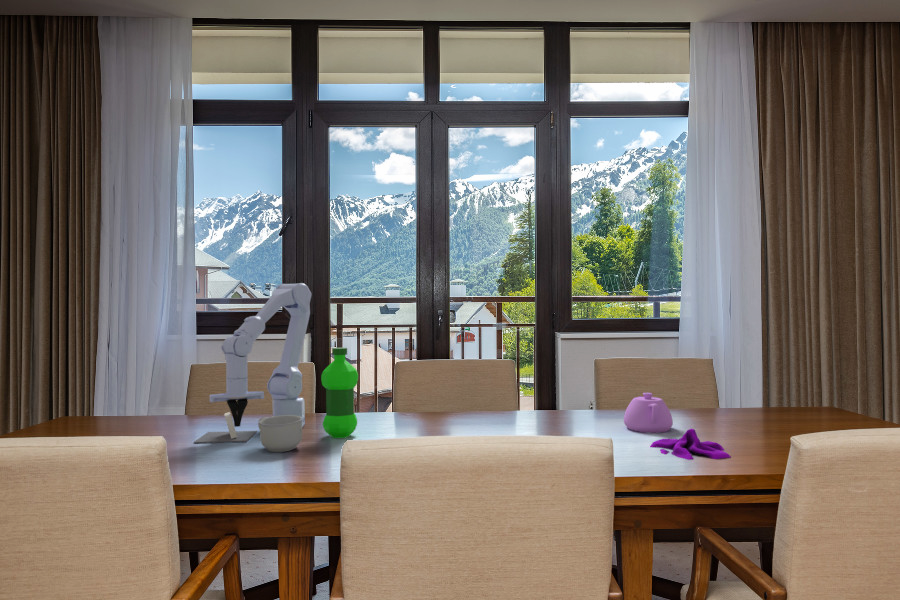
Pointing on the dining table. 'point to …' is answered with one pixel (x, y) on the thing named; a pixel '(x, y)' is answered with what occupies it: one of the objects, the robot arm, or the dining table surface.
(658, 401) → the teapot
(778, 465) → the dining table surface
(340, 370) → the plastic bottle
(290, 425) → the teacup
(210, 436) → the mat
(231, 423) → the tile
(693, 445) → the cloth
